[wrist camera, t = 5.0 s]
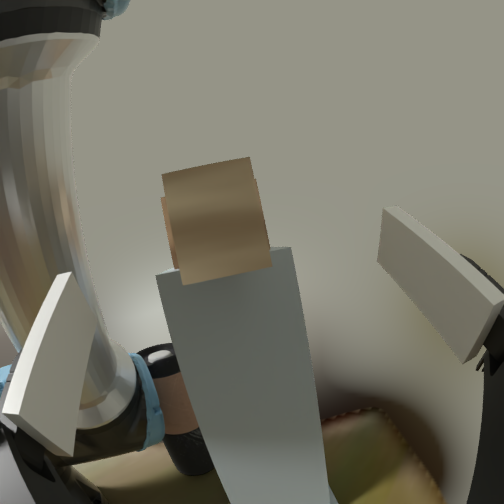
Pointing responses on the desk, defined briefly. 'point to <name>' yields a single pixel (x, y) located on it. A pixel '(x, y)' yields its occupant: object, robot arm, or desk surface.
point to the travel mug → (177, 412)
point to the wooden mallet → (215, 221)
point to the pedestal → (251, 381)
